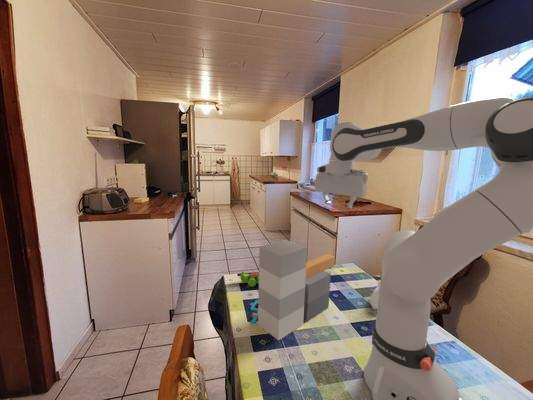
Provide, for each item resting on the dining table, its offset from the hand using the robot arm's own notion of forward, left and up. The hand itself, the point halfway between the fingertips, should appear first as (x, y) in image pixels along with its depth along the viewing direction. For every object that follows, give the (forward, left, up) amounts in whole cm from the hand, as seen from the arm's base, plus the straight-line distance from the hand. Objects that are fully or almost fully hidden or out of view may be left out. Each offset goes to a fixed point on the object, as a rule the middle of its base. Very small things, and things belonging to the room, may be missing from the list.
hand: (337, 205), depth 94 cm
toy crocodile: (+28, +13, -40) cm, 50 cm away
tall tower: (+3, +26, -39) cm, 47 cm away
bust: (-14, -12, -40) cm, 44 cm away
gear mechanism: (+14, +24, -40) cm, 49 cm away
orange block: (+3, +8, -25) cm, 27 cm away
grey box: (+3, +11, -39) cm, 41 cm away
